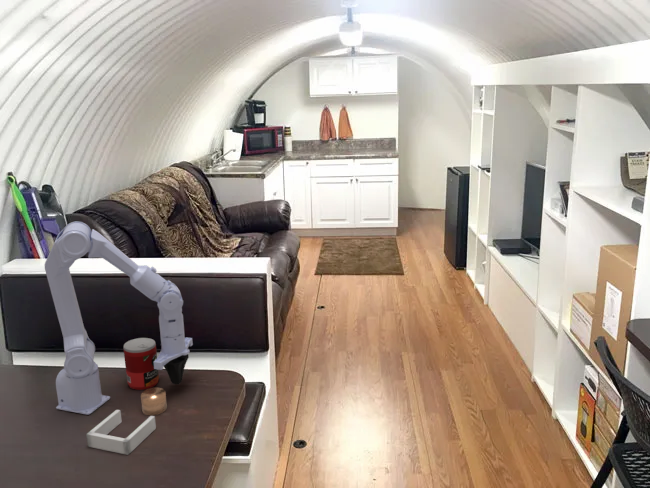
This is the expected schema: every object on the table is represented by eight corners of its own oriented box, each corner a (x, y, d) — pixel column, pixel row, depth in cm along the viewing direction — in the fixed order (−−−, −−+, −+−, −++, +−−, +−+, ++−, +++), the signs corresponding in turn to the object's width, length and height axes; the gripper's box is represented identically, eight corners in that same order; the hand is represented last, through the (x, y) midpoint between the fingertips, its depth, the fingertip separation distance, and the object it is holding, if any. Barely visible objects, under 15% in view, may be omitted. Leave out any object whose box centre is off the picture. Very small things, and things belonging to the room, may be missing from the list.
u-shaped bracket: (87, 446, 120) (86, 434, 119) (118, 421, 129) (116, 409, 129) (128, 454, 117) (126, 442, 117) (155, 428, 126) (154, 416, 126)
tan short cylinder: (138, 414, 132) (136, 399, 131) (148, 400, 137) (147, 386, 136) (160, 416, 131) (159, 401, 130) (170, 403, 137) (169, 388, 135)
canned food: (150, 391, 142) (146, 351, 139) (121, 389, 144) (116, 349, 141) (164, 377, 149) (161, 338, 147) (137, 374, 151) (132, 336, 148)
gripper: (170, 347, 132) (174, 399, 135) (201, 323, 145) (205, 371, 149) (144, 343, 134) (149, 395, 137) (177, 320, 147) (181, 368, 151)
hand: (176, 382), depth 143 cm, fingers closed
